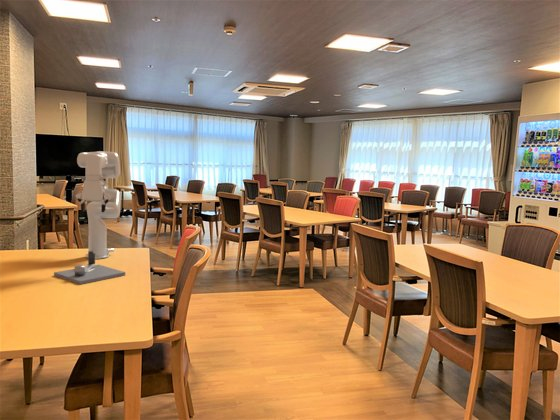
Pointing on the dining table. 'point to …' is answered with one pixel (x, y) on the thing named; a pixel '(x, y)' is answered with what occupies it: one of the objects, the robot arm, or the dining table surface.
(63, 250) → the dining table surface
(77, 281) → the board
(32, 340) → the dining table surface
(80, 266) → the swing lever
